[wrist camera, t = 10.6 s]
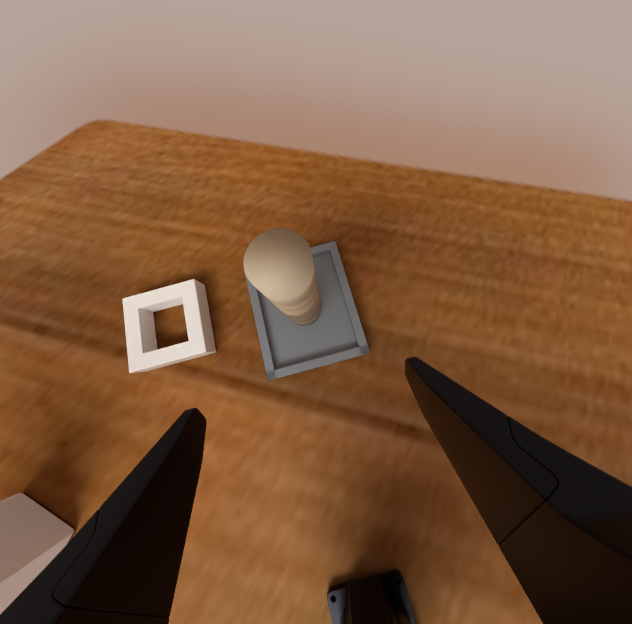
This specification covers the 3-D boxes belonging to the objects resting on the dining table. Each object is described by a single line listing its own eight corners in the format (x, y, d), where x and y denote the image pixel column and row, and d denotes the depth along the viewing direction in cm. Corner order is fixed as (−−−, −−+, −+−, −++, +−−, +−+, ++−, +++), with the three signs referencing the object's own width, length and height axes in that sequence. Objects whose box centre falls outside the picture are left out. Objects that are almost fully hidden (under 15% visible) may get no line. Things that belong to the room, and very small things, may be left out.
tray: (367, 353, 22) (370, 353, 21) (271, 379, 23) (268, 380, 21) (334, 247, 25) (335, 240, 23) (248, 271, 25) (243, 266, 23)
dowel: (317, 328, 22) (304, 299, 11) (284, 322, 23) (235, 287, 11) (324, 295, 23) (318, 233, 11) (291, 289, 23) (252, 224, 12)
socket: (216, 352, 23) (205, 352, 21) (146, 371, 23) (129, 373, 22) (204, 284, 25) (193, 278, 23) (138, 303, 25) (122, 298, 23)
